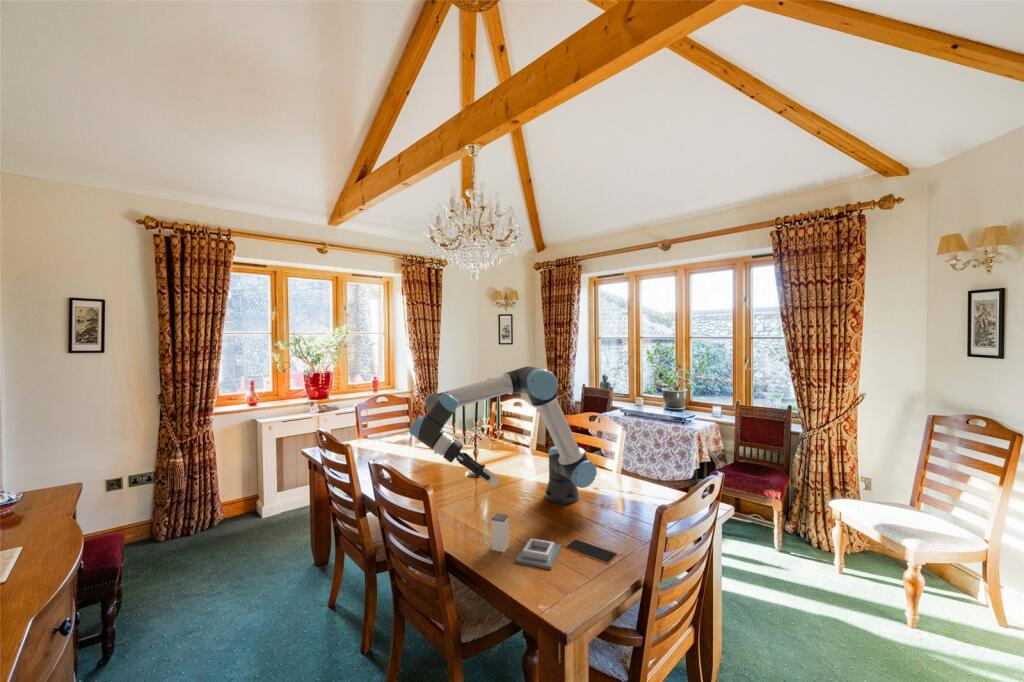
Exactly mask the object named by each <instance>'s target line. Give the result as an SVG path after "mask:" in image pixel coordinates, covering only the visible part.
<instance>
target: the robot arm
mask: <svg viewBox="0 0 1024 682" xmlns="http://www.w3.org/2000/svg"><path fill="white" fill-rule="evenodd" d="M558 382H559V381H558V379H557V377H556V375H555V374H554V373H553V372H552V371H550V370H548V369H545V368H543V367H535V366H523V367H520V368H517V369H513V370H510V371H506V372H504V373H503V374H502V375H501V376H498V377H494V378H490V379H487V380H483V381H482V380H481V381H478V382H475V383H473V384H468V385H464V386H461V387H458V388H457V387H456V388H454V389H450V390H446V391H443V392H442V391H441V392H439V393H437V392H432V393H430V394H429V393H428V394H427V396H426V397H425V399H424V406H425V408H426V410H427V411H428V413H427V414H426V415H425V416H423V415H419V416H418V417H416V419H415V420H414V421H413V422H412V424H411V426H410V428H409V433H410V434H411V436H413V437H414V438H416V440H418V441H420V442H421V443H422V444H424V445H425V446H427V447H428V448H429V449H431V450H432V451H433V452H434V453H433V454H435V455H436V454H438V455H439V456H441V457H442V456H443V459H445V460H446V461H448V462H449V463H453V461H454V460H455V459H456V461H457V462H458V464H460V465H462V466H464V467H465V468H467V469H468V470H469V471H471V473H473V474H474V475H475V478H476V479H479V478H481V479H482V480H483V481H485V482H486V483H487V484H489V485H490V486H492V487H493V488H495V489H496V488H497V486H498V485H499V483H500V480H499V476H498V475H496V474H494V472H492V471H491V470H489V469H487V468H486V465H485V464H481V463H479V462H478V461H476V460H474V458H473V457H472V456H470V455H469V454H468V453H466V452H462V449H463V446H464V445H463V443H461V442H459V440H457V439H454V437H453V436H452V435H450V434H449V433H447V432H446V431H444V430H443V428H444V427H445V425H446V424H447V422H448V421H449V420H450V419H451V417H452V416H453V414H454V413H455V412H456V411H457V409H458V408H461V407H464V406H465V407H466V406H468V405H471V404H475V403H479V402H481V401H485V400H489V399H492V398H495V397H498V396H503V395H506V394H508V395H515V394H525V395H527V396H528V398H529V401H530V403H531V405H532V406H533V407H535V408H537V409H538V412H539V414H540V416H541V417H542V420H543V422H544V424H545V426H546V428H547V431H548V432H549V436H550V437H551V440H552V442H553V443H554V446H552V447H550V448H548V483H547V485H546V488H545V492H544V494H545V495H544V496H545V499H546V500H547V501H548V502H551V503H554V504H562V505H566V504H567V503H569V504H572V503H575V502H577V501H579V499H580V492H579V488H581V489H585V488H587V487H589V486H590V485H592V484H593V483H594V481H595V480H596V476H597V471H598V470H597V466H596V464H595V463H594V462H593V461H591V460H590V459H589V457H588V456H587V454H586V451H585V449H584V448H582V447H580V446H579V445H578V443H577V440H576V439H575V436H574V434H573V432H572V430H571V427H570V425H569V423H568V420H567V418H566V417H565V414H564V411H563V409H562V407H561V405H560V402H559V400H558V397H559V395H560V394H559V392H558V387H559V383H558Z"/></svg>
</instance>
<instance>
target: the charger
mask: <svg viewBox="0 0 1024 682" xmlns="http://www.w3.org/2000/svg"><path fill="white" fill-rule="evenodd" d="M509 517H510V516H509V514H505V513H498V512H495V514H494V515H493V516H492V518H491V551H495V550H496V551H495V552H500V551H501V552H502V553H505V552H506V551H507V549H508V548H509V546H510V544H509V543H510V539H509V537H510V532H509V528H510V527H509ZM501 552H500V553H501Z"/></svg>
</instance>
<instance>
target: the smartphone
mask: <svg viewBox="0 0 1024 682" xmlns="http://www.w3.org/2000/svg"><path fill="white" fill-rule="evenodd" d="M564 549H566V550H568V551H571V552H573V553H577V554H579V555H582V556H583V557H586V558H589V559H592V560H594V561H597V562H599V563H603V564H605V565H610V564H611V563H612V562H613V561H614V560H615V559H616V558H617V557H618V555H619V554H618V553H616V552H614V551H611V550H609V549H608V550H607V549H605V548H602V547H599V546H597V545H594V544H590V543H587V542H585V541H582V540H579V539H577V538H576V539H575V538H574V539H573V540H572V541H570V542H569V543H568V544H566V546H564Z"/></svg>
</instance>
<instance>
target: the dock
mask: <svg viewBox="0 0 1024 682" xmlns="http://www.w3.org/2000/svg"><path fill="white" fill-rule="evenodd" d="M561 549H562V544H557V543H555V541H549V540H543V539H537V538H532V537H531V538H530V539H527V541H526V543H525V544H524V545H523V547H522V548H521V550H520V552H519V554H518V555H517V556H516V558H515V560H514V561H515V564H520V565H526V566H531V567H536V568H541V569H547V570H552V568H553V566H554V564H555V562H556V560H557V558H558V555H559V553H560V551H561Z"/></svg>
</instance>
